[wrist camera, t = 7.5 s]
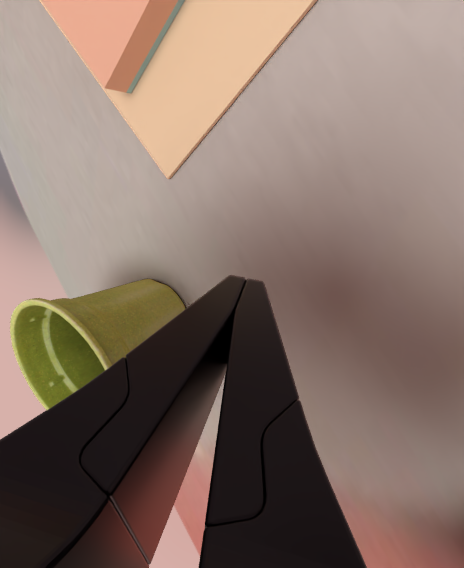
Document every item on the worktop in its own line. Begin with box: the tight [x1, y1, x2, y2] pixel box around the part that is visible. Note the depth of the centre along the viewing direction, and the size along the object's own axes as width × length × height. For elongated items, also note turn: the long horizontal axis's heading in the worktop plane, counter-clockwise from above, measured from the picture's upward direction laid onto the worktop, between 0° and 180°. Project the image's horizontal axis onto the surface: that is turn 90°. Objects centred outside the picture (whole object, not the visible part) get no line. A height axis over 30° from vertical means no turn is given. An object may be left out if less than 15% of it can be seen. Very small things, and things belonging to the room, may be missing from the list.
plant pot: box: [10, 279, 186, 410], centre depth 22 cm, size 9×9×9 cm
